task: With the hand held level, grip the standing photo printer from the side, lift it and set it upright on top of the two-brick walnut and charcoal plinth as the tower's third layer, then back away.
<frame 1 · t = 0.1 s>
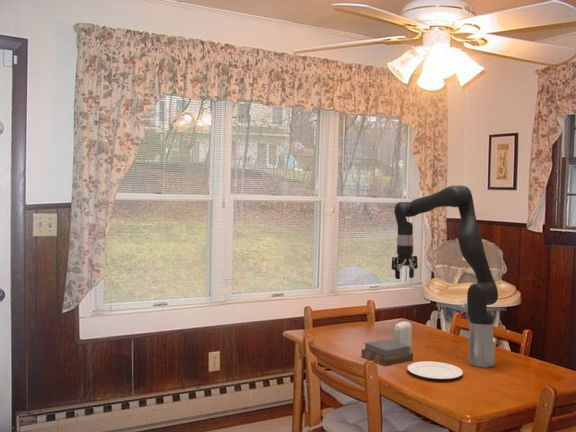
hand: (404, 278, 264), 29 cm above the table, tool pointing down, fingers open, 8 cm apart
top brick: (387, 351, 233), resting on base brick
base brick: (387, 358, 233), on the table
plate: (434, 374, 214), on the table
photo printer: (402, 350, 247), on the table
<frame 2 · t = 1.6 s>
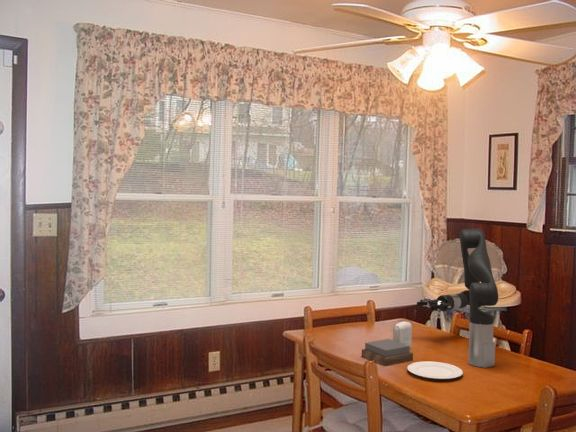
hand: (423, 306, 253), 18 cm above the table, tool horizontal, fingers open, 8 cm apart
nothing on the table moved.
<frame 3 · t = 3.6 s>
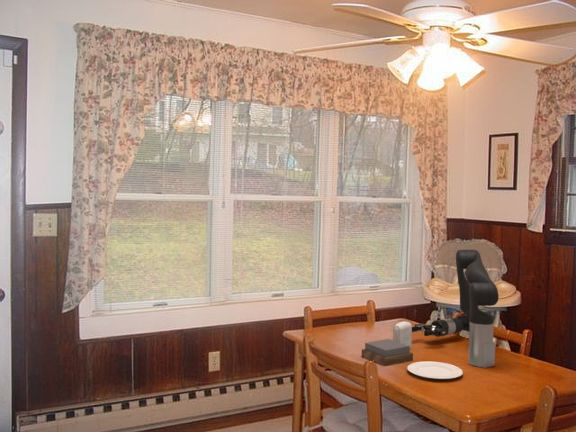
hand: (417, 331, 252), 7 cm above the table, tool horizontal, fingers open, 8 cm apart
nothing on the table moved.
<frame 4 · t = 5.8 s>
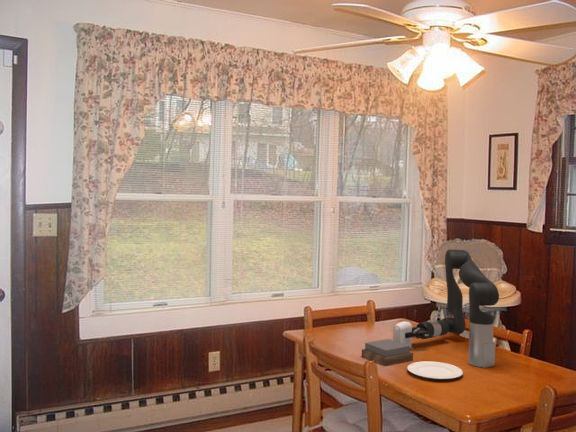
hand: (401, 334, 247), 7 cm above the table, tool horizontal, fingers closed on photo printer, 5 cm apart
photo printer: (402, 349, 247), on the table, touching gripper
everything else where it was.
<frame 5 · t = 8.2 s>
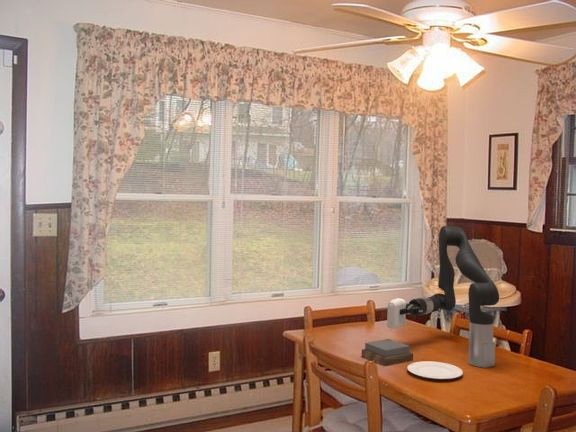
hand: (395, 311, 243), 18 cm above the table, tool horizontal, fingers closed on photo printer, 5 cm apart
photo printer: (396, 327, 243), point 11 cm above the table, touching gripper
everything else where it was.
when the fingers open (14 cm above the table, at t = 10.5 s): photo printer drops 1 cm, resting on top brick.
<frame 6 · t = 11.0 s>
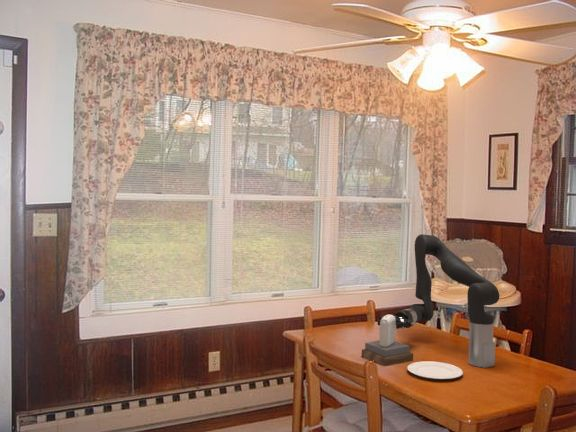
hand: (387, 324, 233), 14 cm above the table, tool horizontal, fingers open, 8 cm apart
photo printer: (387, 344, 233), point 6 cm above the table, touching top brick
everything else where it was.
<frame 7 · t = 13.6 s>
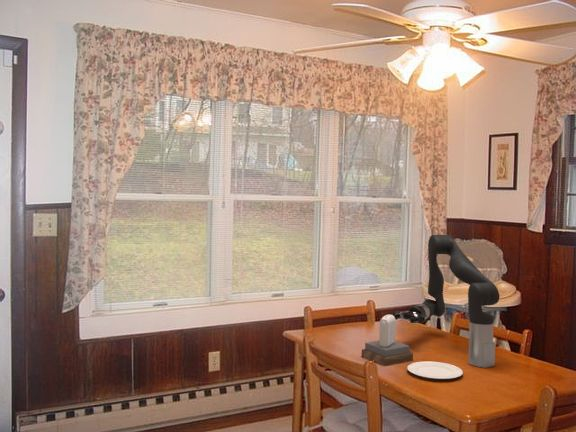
hand: (402, 319, 243), 14 cm above the table, tool horizontal, fingers open, 8 cm apart
nothing on the table moved.
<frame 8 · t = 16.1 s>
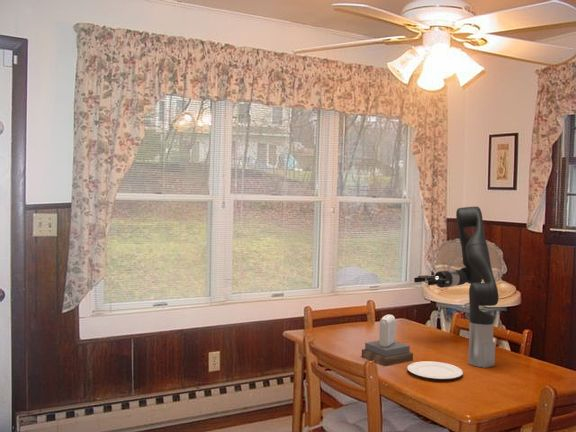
hand: (421, 281, 249), 30 cm above the table, tool horizontal, fingers open, 8 cm apart
nothing on the table moved.
at the end: photo printer inside the target area on the base brick (0.1 cm from its centre), point 5.8 cm above the base brick's base; photo printer tilted 0°; the gripper is holding nothing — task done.
